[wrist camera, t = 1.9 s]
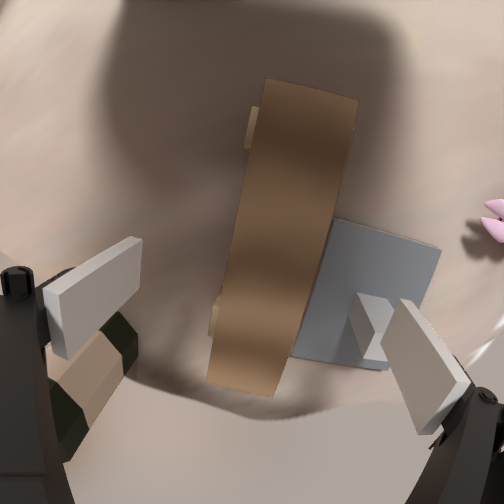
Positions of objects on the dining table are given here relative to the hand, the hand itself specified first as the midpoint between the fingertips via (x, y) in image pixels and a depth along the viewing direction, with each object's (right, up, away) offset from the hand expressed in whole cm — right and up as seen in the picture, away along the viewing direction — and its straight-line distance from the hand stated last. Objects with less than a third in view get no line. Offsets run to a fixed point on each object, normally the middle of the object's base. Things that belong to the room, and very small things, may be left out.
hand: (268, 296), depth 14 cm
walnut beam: (+1, +3, +7) cm, 8 cm away
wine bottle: (-18, -8, +18) cm, 26 cm away
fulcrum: (+10, -3, +13) cm, 17 cm away
